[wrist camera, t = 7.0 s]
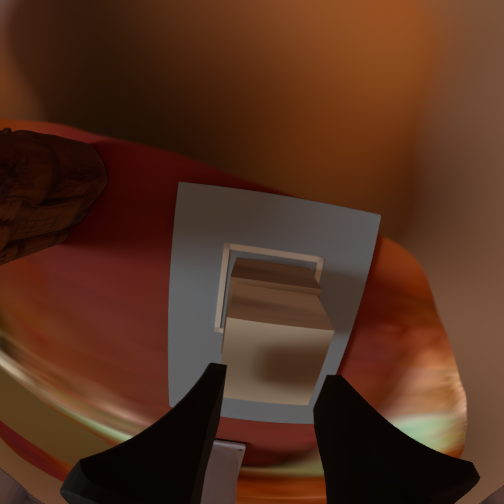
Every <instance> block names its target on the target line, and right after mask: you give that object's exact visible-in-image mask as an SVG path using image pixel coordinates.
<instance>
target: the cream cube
mask: <svg viewBox="0 0 504 504" xmlns="http://www.w3.org/2000/svg"><path fill="white" fill-rule="evenodd" d="M333 334H334V329H333V326H332V324H331V322H330V320H329V318H328V316H327V314H326V312H325V310H324V308H323V306H322V304H321V303H320V301H319V299H318V297H317V295H313V294H306V293H298V292H291V291H284V290H277V289H270V288H263V287H256V286H249V285H243V284H236V283H235V285H234V290H233V294H232V298H231V302H230V307H229V311H228V315H227V321H226V329H225V336H224V344H223V352H222V360H221V364H224V365H227V371H226V379H225V386H224V394H223V397H226V398H233V399H240V400H248V401H256V402H266V403H278V404H292V405H308V403H309V401H310V398H311V396H312V393H313V391H314V388H315V386H316V383H317V380H318V378H319V375H320V372H321V369H322V367H323V364H324V361H325V358H326V355H327V352H328V349H329V346H330V343H331V340H332V337H333Z"/></svg>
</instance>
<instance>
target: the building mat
mask: <svg viewBox="0 0 504 504" xmlns="http://www.w3.org/2000/svg"><path fill="white" fill-rule="evenodd" d="M380 219H381V215H379V214H374V213H370V212H365V211H361V210H356V209H352V208H347V207H342V206H337V205H332V204H327V203H321V202H316V201H311V200H306V199H300V198H294V197H288V196H282V195H276V194H270V193H264V192H257V191H250V190H243V189H236V188H229V187H221V186H213V185H205V184H196V183H187V182H179V183H178V191H177V200H176V208H175V218H174V228H173V240H172V252H171V267H170V285H169V312H168V377H169V402H170V406H171V407H174V406H175V405H176V404H177V403H178V402H179V401H180V400H181V399H182V398H183V397H184V396H185V395H186V394H187V393H188V392H189V391H190V389H191V388H192V387H193V386H194V385H195V383H196V382H197V381H198V380H199V378H200V377H201V375H202V374H203V372H204V371H205V369H206V368H207V366H208V364H210V363H211V362H212V363H218V364H221V360H222V353H221V347H222V339H223V331H224V322H225V314H226V306H227V298H228V291H229V283H230V276H231V273H232V269H233V266H234V263H235V260H236V257H237V258H244V259H250V260H257V261H264V262H270V263H277V264H284V265H291V266H298V267H305V268H309V269H310V270H311V272H312V274H313V276H314V277H315V279H316V281H317V282H318V284H319V286H320V287H321V289H322V290H321V294H320V298H319V301H320V303H321V304H322V306H323V308H324V310H325V312H326V314H327V316H328V318H329V320H330V322H331V324H332V326H333V329H334V334H333V337H332V340H331V343H330V346H329V349H328V352H327V355H326V358H325V361H324V364H323V367H322V369H321V372H320V375H319V378H318V380H317V383H316V386H315V388H314V391H313V393H312V396H311V398H310V401H309V403H308V405H292V404H278V403H266V402H256V401H248V400H240V399H233V398H226V397H223V401H222V408H221V414H220V416H223V417H230V418H237V419H245V420H255V421H266V422H280V423H304V424H314V417H313V408H314V405H315V403H316V401H317V398H318V396H319V393H320V391H321V388H322V386H323V383H324V380H325V378H326V375H336V372H337V370H338V367H339V365H340V362H341V359H342V357H343V354H344V351H345V348H346V345H347V342H348V340H349V337H350V334H351V331H352V328H353V325H354V321H355V318H356V315H357V312H358V309H359V305H360V302H361V298H362V295H363V291H364V288H365V284H366V280H367V277H368V273H369V269H370V265H371V261H372V256H373V252H374V248H375V243H376V239H377V234H378V228H379V224H380Z"/></svg>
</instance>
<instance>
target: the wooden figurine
mask: <svg viewBox="0 0 504 504" xmlns="http://www.w3.org/2000/svg"><path fill="white" fill-rule="evenodd" d="M107 184H108V177H107V170H106V168H105V166H104V164H103V162H102V159H101V157H100V156H99V155H98V153H97V152H96V150H95V148H94V146H92V145H90V144H87V143H83V142H80V141H76V140H71V139H67V138H63V137H59V136H56V135H50V134H42V133H37V132H33V131H28V130H17V131H14V132H12V131H11V128H4V129H3V130H2V131H0V265H3V264H5V263H8V262H10V261H13V260H15V259H19V258H22V257H24V256H27V255H30V254H32V253H35V252H38V251H40V250H43V249H45V248H49V247H51V246H55V245H57V244H59V243H61V242H63V241H64V240H65V239H66V238H68V236H69V228H70V227H71V226H73V225H75V224H77V223H78V222H79V221H81V220H82V219H83V218H84V217H85V216H86V215H87V214H88V212H89V210H90V205H91V204H92V203H93V202H94V201H95V200H96V199H97V197H98V196H99V195H100V194H101V192H102V191H103V189H104V188H105V186H106V185H107Z"/></svg>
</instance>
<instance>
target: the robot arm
mask: <svg viewBox="0 0 504 504" xmlns="http://www.w3.org/2000/svg"><path fill="white" fill-rule="evenodd" d="M226 371H227V365H224V364H218V363H212V362H211V363H210V364H208V366H207V368H206V369H205V371H204V372H203V374H202V375H201V377H200V378H199V380H198V381H197V382H196V383H195V385H194V386H193V387H192V388H191V389H190V391H189V392H188V393H187V394H186V395H185V396H184V397H183V398H182V399H181V400H180V401H179V402H178V403H177V404H176V405H175V406H174V407H173V408H172V409H171V410H170V411H169V412H168V413H167V414H165V415H164V416H163V417H162V418H160V419H159V420H158V421H157V422H155V423H154V424H153V425H151V426H150V427H148V428H147V429H145V430H144V431H142V432H141V433H139V434H138V435H136V436H134V437H132V438H131V439H129V440H127V441H125V442H123V443H121V444H119V445H117V446H115V447H113V448H111V449H108V450H106V451H104V452H101V453H98V454H95V455H92V456H89V457H86V458H83V459H80V460H79V461H78V462H77V464H76V465H75V466H74V467H73V469H72V470H71V471H70V472H69V474H68V476H67V478H66V480H65V481H64V483H63V485H62V487H61V489H60V493H61V495H62V497H63V498H64V499H65V500H66V501H67V502H68V503H69V504H235V501H236V487H237V478H238V474H239V471H240V467H241V464H242V460H243V456H244V453H245V449H246V445H245V444H243V443H236V442H228V441H221V440H215V436H216V432H217V429H218V425H219V421H220V414H221V408H222V401H223V394H224V386H225V379H226ZM313 417H314V429H315V434H316V439H317V443H318V448H319V452H320V456H321V461H322V465H323V470H324V475H325V483H326V496H327V504H454V503H455V502H457V501H458V500H459V499H460V498H462V497H463V496H464V495H465V494H466V493H468V492H469V491H470V490H471V489H472V488H473V487H474V486H475V485H476V484H477V483H478V481H479V479H480V476H479V474H478V472H477V470H476V469H475V467H474V465H473V463H472V462H469V461H465V460H462V459H458V458H454V457H451V456H448V455H445V454H443V453H440V452H438V451H435V450H433V449H431V448H429V447H427V446H425V445H423V444H421V443H419V442H418V441H416V440H414V439H412V438H411V437H409V436H408V435H406V434H405V433H403V432H402V431H400V430H399V429H398V428H396V427H395V426H393V425H392V424H391V423H390V422H388V421H387V420H386V419H385V418H384V417H383V416H381V415H380V414H379V413H378V412H377V411H376V410H375V409H374V408H373V407H372V406H371V405H370V404H369V403H368V402H367V401H366V400H365V399H364V398H363V397H362V396H361V395H360V394H359V393H358V392H357V391H356V390H355V389H354V388H353V387H352V386H351V385H350V384H349V383H348V382H347V381H346V380H345V379H344V378H343V377H342V376H341V375H326V378H325V380H324V383H323V386H322V388H321V391H320V393H319V396H318V398H317V401H316V403H315V405H314V408H313ZM0 504H45V503H43V502H41V501H40V500H38V499H37V498H35V497H34V496H32V495H31V494H29V493H28V492H27V490H26V489H25V488H24V487H23V486H22V485H21V484H20V483H18V482H17V481H16V480H15V479H14V478H12V477H11V476H10V475H9V474H7V473H6V472H5V471H4V470H3V469H1V468H0ZM480 504H504V486H502V487H501V488H499V489H498V490H497V491H495V492H494V493H492V494H491V495H490V496H488V497H487V498H486V499H485V500H483V501H482V502H481V503H480Z"/></svg>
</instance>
